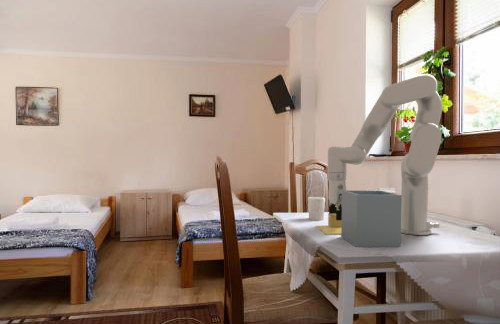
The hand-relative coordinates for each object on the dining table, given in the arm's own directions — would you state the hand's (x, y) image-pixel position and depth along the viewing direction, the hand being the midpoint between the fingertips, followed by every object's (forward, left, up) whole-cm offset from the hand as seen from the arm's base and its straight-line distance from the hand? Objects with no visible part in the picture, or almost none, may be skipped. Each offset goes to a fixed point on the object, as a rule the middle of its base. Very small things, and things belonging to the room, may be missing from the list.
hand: (336, 218), depth 155 cm
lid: (0, +6, -5) cm, 7 cm away
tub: (-4, +25, -4) cm, 26 cm away
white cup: (+3, -20, -4) cm, 21 cm away
